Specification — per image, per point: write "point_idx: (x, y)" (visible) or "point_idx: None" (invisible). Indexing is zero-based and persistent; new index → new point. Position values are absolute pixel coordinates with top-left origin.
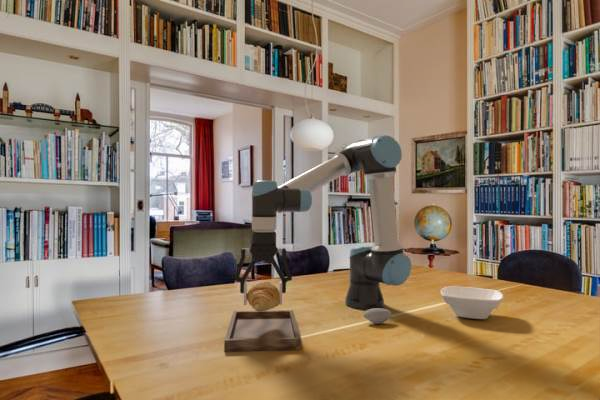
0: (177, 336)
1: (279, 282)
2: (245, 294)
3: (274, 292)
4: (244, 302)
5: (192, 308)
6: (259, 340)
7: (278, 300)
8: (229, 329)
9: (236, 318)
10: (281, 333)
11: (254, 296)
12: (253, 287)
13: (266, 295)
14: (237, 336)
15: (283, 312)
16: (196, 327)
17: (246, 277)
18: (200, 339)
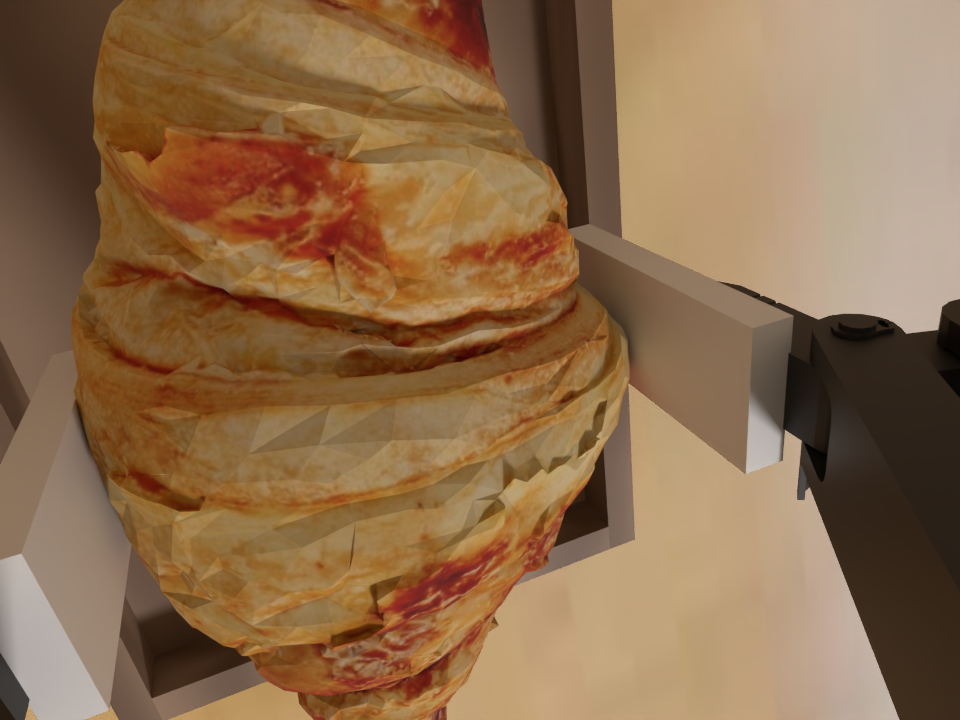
0: (897, 80)
1: (108, 688)
2: (646, 262)
3: (156, 362)
4: (597, 234)
5: (846, 622)
6: None
7: (82, 314)
8: (597, 19)
9: (584, 489)
10: (76, 170)
11: (494, 117)
12: (588, 407)
13: (252, 64)
14: (498, 27)
15: (215, 666)
16: (803, 292)
17: (847, 382)
18: (758, 22)
